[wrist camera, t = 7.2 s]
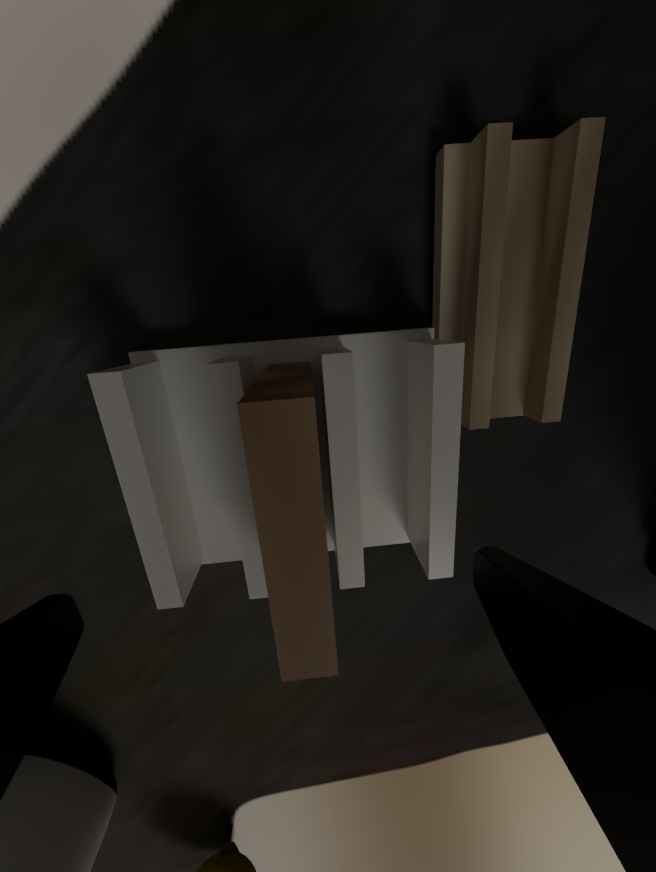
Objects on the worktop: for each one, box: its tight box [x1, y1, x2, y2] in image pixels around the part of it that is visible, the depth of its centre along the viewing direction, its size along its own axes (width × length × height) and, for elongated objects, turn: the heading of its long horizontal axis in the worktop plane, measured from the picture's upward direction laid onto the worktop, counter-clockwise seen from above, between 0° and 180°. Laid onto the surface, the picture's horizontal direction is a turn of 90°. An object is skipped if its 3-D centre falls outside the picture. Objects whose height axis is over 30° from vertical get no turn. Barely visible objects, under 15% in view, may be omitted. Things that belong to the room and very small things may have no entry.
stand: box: [432, 117, 606, 430], centre depth 13 cm, size 6×10×2 cm, turn 4°
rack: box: [87, 328, 465, 609], centre depth 14 cm, size 12×10×4 cm
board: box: [237, 361, 339, 682], centre depth 12 cm, size 2×8×7 cm, turn 4°
